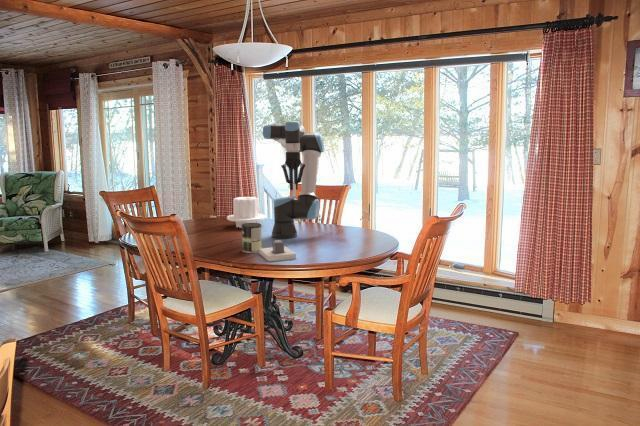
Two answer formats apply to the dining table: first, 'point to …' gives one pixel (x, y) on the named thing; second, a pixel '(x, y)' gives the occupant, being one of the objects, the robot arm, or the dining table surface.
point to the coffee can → (251, 237)
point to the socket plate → (269, 255)
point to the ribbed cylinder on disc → (245, 211)
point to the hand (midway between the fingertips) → (293, 196)
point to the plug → (278, 247)
